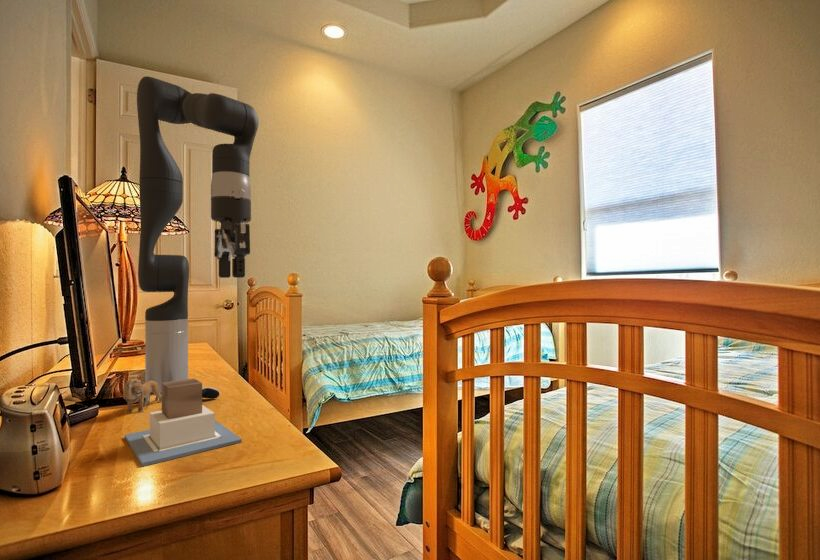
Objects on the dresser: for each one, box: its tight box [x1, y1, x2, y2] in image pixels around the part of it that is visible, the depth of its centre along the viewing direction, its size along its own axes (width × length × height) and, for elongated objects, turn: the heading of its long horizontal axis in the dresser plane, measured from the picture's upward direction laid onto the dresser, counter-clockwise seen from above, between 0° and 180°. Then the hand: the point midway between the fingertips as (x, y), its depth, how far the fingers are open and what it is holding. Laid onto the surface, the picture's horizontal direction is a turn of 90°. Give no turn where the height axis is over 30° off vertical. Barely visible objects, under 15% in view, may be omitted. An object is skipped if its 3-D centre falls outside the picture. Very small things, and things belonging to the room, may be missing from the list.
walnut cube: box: [161, 378, 203, 419], centre depth 71 cm, size 5×5×5 cm
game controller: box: [202, 386, 221, 400], centre depth 92 cm, size 10×5×6 cm
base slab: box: [149, 404, 216, 450], centre depth 71 cm, size 8×8×4 cm
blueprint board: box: [124, 419, 243, 467], centre depth 71 cm, size 16×14×1 cm
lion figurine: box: [122, 378, 162, 414], centre depth 90 cm, size 12×4×7 cm, turn 8°
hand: (231, 277), depth 87 cm, fingers open, 8 cm apart
